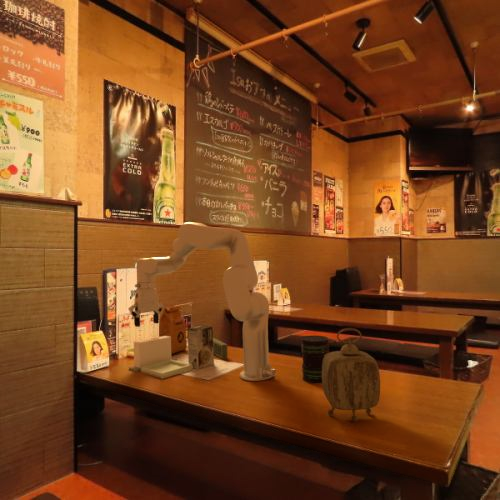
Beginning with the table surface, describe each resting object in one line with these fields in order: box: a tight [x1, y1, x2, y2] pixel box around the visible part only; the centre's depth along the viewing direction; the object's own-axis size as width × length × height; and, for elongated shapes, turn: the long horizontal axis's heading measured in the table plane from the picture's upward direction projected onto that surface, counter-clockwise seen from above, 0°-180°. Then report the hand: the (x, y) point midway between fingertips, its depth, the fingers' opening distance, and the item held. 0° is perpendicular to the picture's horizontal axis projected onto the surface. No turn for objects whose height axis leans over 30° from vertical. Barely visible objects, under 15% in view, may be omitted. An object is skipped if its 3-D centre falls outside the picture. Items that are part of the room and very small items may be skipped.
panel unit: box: [128, 336, 178, 373], centre depth 175 cm, size 6×20×11 cm, turn 138°
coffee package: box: [158, 305, 188, 355], centre depth 198 cm, size 10×12×22 cm
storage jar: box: [301, 335, 330, 384], centre depth 149 cm, size 10×10×15 cm
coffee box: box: [187, 324, 215, 370], centre depth 173 cm, size 9×6×16 cm
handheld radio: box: [213, 337, 228, 360], centre depth 194 cm, size 7×3×25 cm
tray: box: [140, 360, 194, 380], centre depth 166 cm, size 14×15×2 cm
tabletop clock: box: [321, 327, 381, 423], centre depth 113 cm, size 14×9×25 cm, turn 92°
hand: (146, 324), depth 181 cm, fingers open, 9 cm apart
